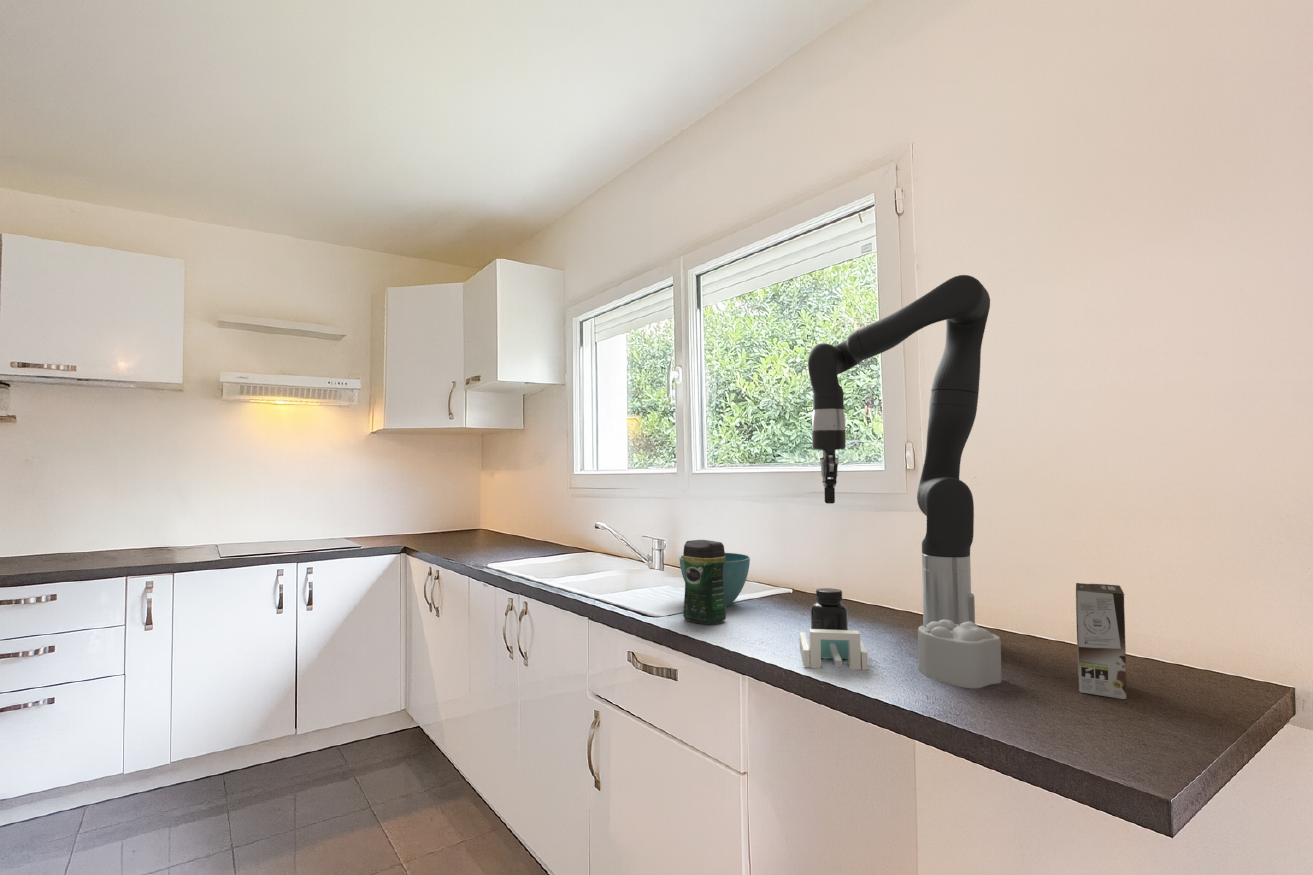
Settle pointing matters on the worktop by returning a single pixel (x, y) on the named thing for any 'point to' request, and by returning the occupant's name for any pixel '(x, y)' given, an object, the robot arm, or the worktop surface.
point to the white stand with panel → (855, 646)
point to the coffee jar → (704, 581)
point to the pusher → (834, 650)
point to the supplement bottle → (829, 610)
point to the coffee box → (1101, 640)
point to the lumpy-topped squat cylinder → (959, 654)
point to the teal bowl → (730, 574)
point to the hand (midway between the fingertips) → (829, 503)
